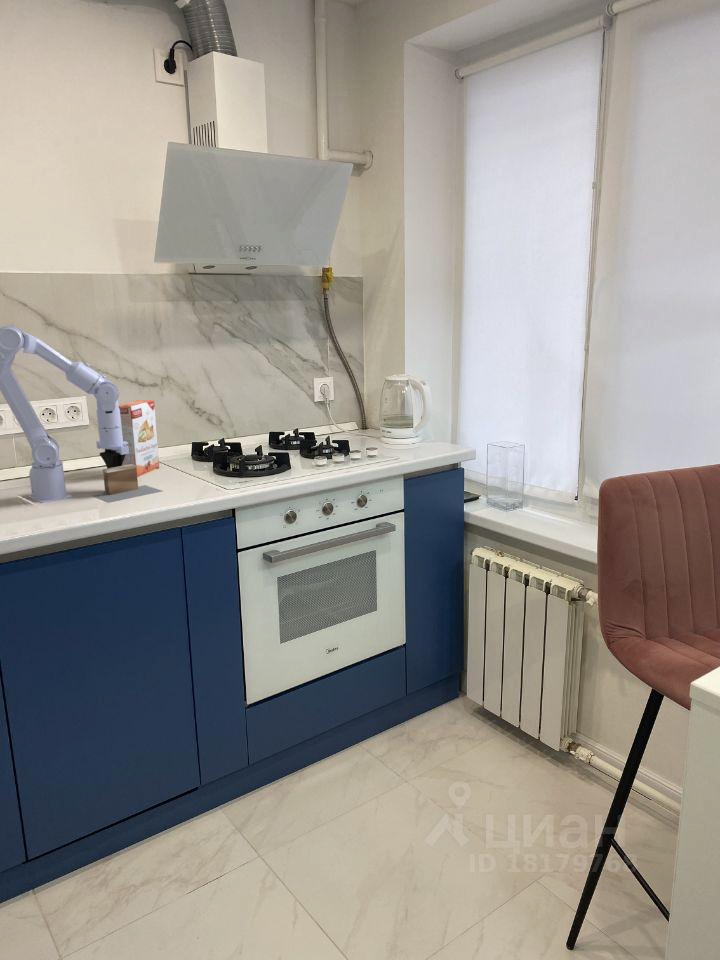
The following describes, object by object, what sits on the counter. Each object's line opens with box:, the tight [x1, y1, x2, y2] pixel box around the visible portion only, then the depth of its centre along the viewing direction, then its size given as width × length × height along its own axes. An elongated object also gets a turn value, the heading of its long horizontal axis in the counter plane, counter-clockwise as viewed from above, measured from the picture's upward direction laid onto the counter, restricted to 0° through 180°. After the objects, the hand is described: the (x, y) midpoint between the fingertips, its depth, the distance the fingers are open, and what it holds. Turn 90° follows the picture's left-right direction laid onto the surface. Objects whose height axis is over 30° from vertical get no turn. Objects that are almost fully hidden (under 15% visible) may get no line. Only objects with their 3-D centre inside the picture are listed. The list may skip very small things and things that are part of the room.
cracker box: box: [118, 399, 160, 478], centre depth 210 cm, size 14×6×21 cm, turn 168°
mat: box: [92, 484, 163, 504], centre depth 187 cm, size 10×15×1 cm, turn 134°
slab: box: [102, 464, 139, 495], centre depth 188 cm, size 2×8×6 cm, turn 134°
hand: (115, 477), depth 191 cm, fingers closed
